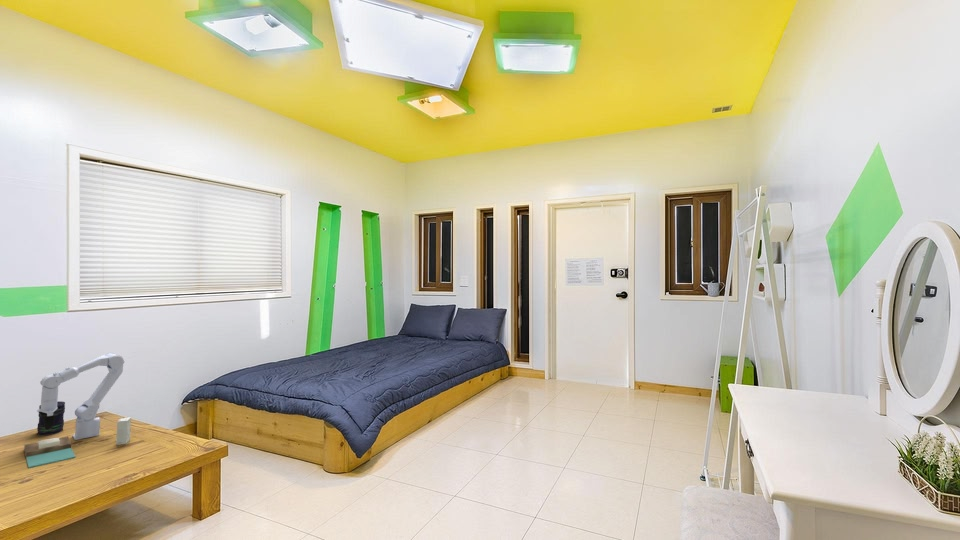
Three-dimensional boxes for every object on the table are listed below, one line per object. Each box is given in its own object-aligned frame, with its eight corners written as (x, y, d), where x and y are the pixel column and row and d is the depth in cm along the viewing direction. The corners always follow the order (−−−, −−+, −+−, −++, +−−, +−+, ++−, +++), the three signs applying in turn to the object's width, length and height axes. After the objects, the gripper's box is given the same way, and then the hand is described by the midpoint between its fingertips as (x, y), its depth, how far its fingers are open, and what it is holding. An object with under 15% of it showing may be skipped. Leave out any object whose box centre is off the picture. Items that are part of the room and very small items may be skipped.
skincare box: (126, 444, 210) (128, 420, 210) (115, 445, 208) (116, 421, 208) (130, 439, 216) (132, 416, 216) (119, 440, 214) (121, 417, 214)
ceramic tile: (58, 441, 203) (58, 437, 203) (59, 444, 200) (59, 440, 200) (37, 445, 198) (37, 441, 198) (38, 449, 194) (39, 444, 194)
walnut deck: (67, 441, 209) (68, 436, 209) (71, 448, 202) (71, 443, 202) (24, 449, 197) (24, 444, 198) (26, 457, 190) (26, 452, 190)
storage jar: (53, 427, 224) (55, 400, 225) (68, 429, 223) (70, 402, 223) (31, 434, 215) (33, 406, 215) (46, 436, 213) (49, 408, 213)
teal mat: (71, 448, 201) (71, 447, 201) (75, 457, 193) (75, 456, 193) (26, 458, 190) (26, 456, 190) (28, 468, 181) (28, 466, 181)
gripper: (36, 397, 205) (34, 424, 205) (39, 404, 196) (37, 432, 196) (56, 395, 211) (54, 421, 211) (59, 401, 202) (58, 429, 202)
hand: (47, 426), depth 204 cm, fingers open, 7 cm apart
